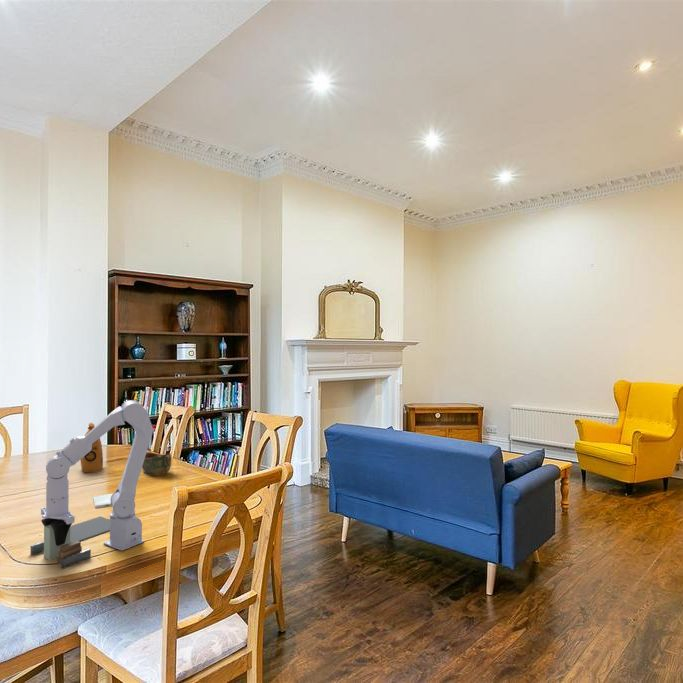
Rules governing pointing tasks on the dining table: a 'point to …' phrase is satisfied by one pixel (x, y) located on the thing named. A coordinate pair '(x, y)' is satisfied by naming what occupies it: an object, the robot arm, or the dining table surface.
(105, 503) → the hard drive
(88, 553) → the offcut rack
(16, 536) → the dining table surface
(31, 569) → the dining table surface
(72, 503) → the dining table surface
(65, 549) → the offcut stack
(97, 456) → the coffee package
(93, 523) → the slate mat
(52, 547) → the tall pastel pillar
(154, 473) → the dark green bowl
